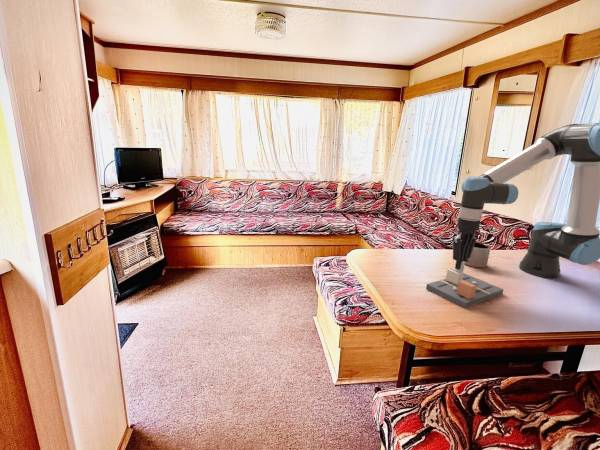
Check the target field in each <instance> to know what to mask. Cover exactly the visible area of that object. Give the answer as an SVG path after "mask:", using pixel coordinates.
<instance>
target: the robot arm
mask: <svg viewBox="0 0 600 450" xmlns="http://www.w3.org/2000/svg"><path fill="white" fill-rule="evenodd" d="M562 155H563V156H564V155H570V160H569V161H570V162H571V163H572V164H573V165H574V169H573V176H572V184H571V189H570V190H571V192H570V198H569V199H570V200H569V205H568V214H567V218H566V224H565V223H561V222H560V223H559V222H549V221H538V222H536V223H535V224H534V226H533V229H532V231H531V236H530V240H529V244H528V248H527V252H526V254H525V255H524V256H523V257H522V260H520V262H519V265H518V268H519V269H520V270H521V271H524V272H525V273H527V274H530V275H534V276H537V277H543V278H549V279H556V278H559V277H560V275H561V265H560V258H563V259H565V260H567V261H569V262H572V263H573V264H574V263H575V264H578V265H581V266H589V265H592V264H594V263H596V262H597V261H599V260H600V230H599V229H598V228H597V227H596V225H597V218H598V212H599V206H600V122H592V123H591V122H590V123H589V122H588V123H571V124H567V125H564V126H561V127H558V128H556V129H554V130H552V131H550V132H548V133H546V134H544V135H542V136H541V137H539V138H536V140H535V141H534V142H533V144H532V145H530V146H528V147H527V148H525V149H523V150H521V151H520V152H518V153H517V154H515V155H513V156H511V157H510V158H508V159H506V160H505V161H502V162H501V163H499V164H497V165H496V166H494V167H493V168H491V169H489V170H487V171H486V172H485V173H484V172H483V173H482V174H481V175H479V176H467V178H465V180H463V182H462V183H461V192H462V196H461V203H460V207H459V213H458V219H457V222H456V227H457V228H458V232H457V235H456V236H453V237H452V245H453V246H452V247H453V248H452V259H453V260H454V261H455V266H454V269H455V270H458V271H460V272H463V273H464V271H465V265H466V264H465V261H466V262H468V261H469V260H467V259H470V256H471V253H472V250H473V248H474V245H475V242H477V240H478V238H479V235H477V234H476V231H477V232H478V231H479V229H480V225H481V220H482V216H483V211H484V206H485V204H489V205H490V204H493V205H494V204H495V205H496V204H497V205H512V204H513V203H515V202H517V199H518V198H519V190H518V189H519V188H518V187H517V185H515V184H510V183H507V182H509V181H510V180H512V179H514V178H515V177H517V176H519V175H520V174H522V173H524V172H526V171H528V170H529V169H531V168H533V167H534V166H537V165H538V164H540V163H542V162H544V161H545V160H552V159H553V158H555V157H557V156H562Z"/></svg>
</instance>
